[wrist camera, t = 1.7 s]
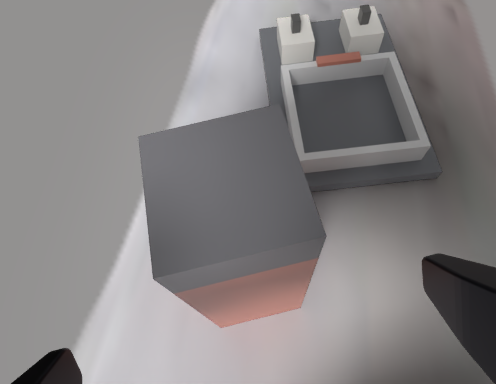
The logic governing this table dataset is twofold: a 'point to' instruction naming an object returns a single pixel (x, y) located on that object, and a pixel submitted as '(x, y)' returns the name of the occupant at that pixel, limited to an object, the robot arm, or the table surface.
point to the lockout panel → (346, 101)
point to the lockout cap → (231, 215)
